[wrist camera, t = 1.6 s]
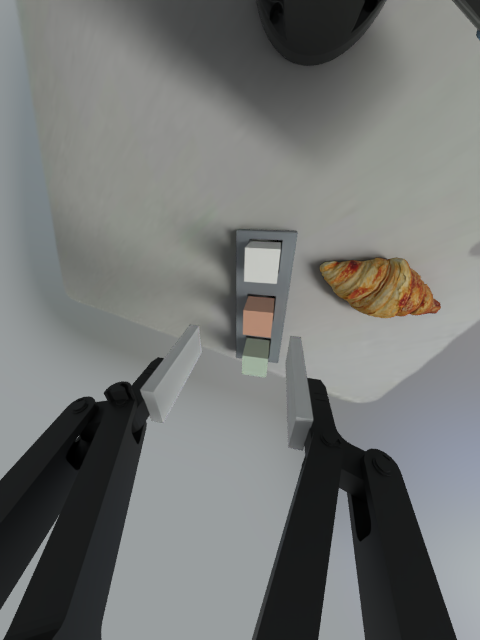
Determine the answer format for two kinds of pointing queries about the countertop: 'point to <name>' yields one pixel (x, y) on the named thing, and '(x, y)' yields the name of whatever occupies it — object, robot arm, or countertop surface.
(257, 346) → the key sage
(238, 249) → the grey slotted tray
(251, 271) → the key white
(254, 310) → the key terracotta
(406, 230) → the countertop surface
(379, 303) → the croissant
